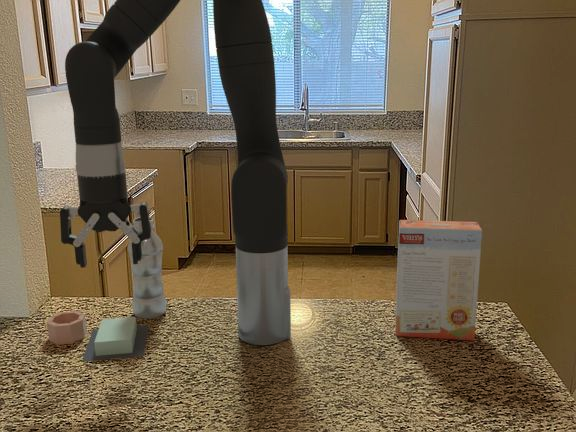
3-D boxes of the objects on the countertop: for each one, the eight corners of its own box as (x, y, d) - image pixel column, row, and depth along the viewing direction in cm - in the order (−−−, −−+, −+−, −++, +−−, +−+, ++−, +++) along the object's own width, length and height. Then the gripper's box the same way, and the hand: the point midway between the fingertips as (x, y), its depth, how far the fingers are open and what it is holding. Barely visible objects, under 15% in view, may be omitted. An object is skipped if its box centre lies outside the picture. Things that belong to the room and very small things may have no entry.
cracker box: (470, 327, 106) (478, 220, 101) (474, 342, 100) (484, 229, 95) (394, 322, 109) (399, 217, 103) (394, 336, 103) (399, 226, 97)
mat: (148, 329, 106) (148, 324, 106) (144, 361, 95) (144, 355, 95) (93, 334, 105) (93, 329, 104) (82, 367, 93) (81, 361, 93)
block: (136, 329, 104) (135, 316, 104) (132, 352, 96) (131, 339, 95) (103, 331, 103) (101, 319, 103) (95, 355, 95) (94, 342, 94)
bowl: (88, 332, 105) (86, 310, 104) (83, 347, 100) (80, 324, 99) (54, 335, 104) (52, 312, 103) (47, 350, 99) (44, 327, 98)
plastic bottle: (140, 309, 115) (132, 214, 110) (172, 311, 114) (166, 215, 109) (127, 323, 109) (118, 223, 104) (161, 325, 108) (153, 224, 103)
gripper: (147, 165, 96) (154, 255, 101) (60, 168, 94) (70, 260, 98) (144, 173, 89) (151, 269, 93) (49, 176, 87) (61, 275, 91)
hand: (109, 264), depth 96 cm, fingers open, 8 cm apart
